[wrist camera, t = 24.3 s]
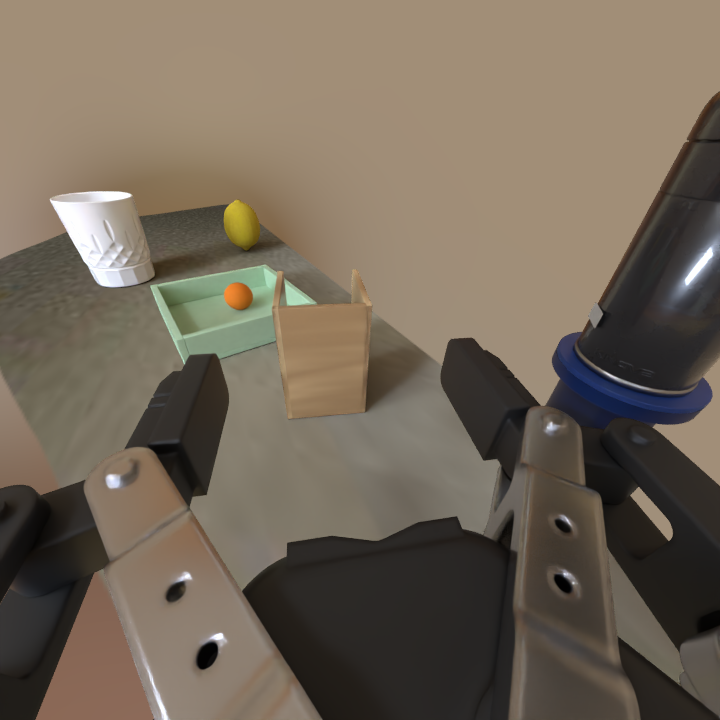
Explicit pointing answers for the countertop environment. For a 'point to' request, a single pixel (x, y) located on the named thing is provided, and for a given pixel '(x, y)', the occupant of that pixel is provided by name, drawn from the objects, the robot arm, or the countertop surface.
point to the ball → (238, 296)
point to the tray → (222, 311)
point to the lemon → (241, 224)
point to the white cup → (107, 236)
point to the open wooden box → (323, 352)
